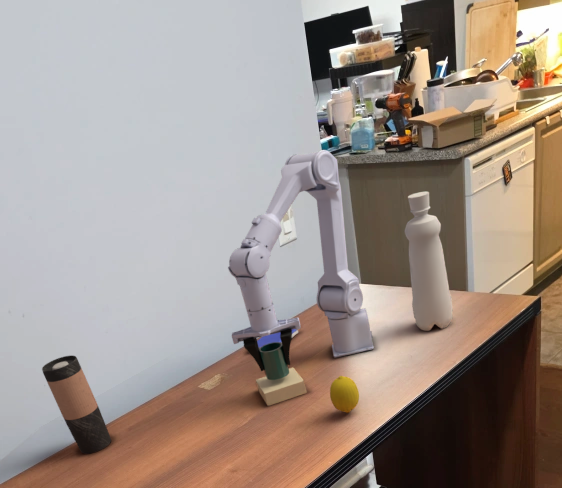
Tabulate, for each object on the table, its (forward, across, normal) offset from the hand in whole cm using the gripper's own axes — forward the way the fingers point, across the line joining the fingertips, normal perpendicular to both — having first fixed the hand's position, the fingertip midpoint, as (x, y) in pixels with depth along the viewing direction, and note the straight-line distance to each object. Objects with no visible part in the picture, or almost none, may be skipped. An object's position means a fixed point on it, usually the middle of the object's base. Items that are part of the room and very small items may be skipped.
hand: (275, 366), depth 141 cm
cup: (+2, 0, 0) cm, 2 cm away
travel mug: (+6, -42, -6) cm, 43 cm away
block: (+6, 0, 0) cm, 6 cm away
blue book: (+6, -2, +32) cm, 33 cm away
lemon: (+6, +14, -16) cm, 22 cm away
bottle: (+6, +38, +20) cm, 43 cm away
